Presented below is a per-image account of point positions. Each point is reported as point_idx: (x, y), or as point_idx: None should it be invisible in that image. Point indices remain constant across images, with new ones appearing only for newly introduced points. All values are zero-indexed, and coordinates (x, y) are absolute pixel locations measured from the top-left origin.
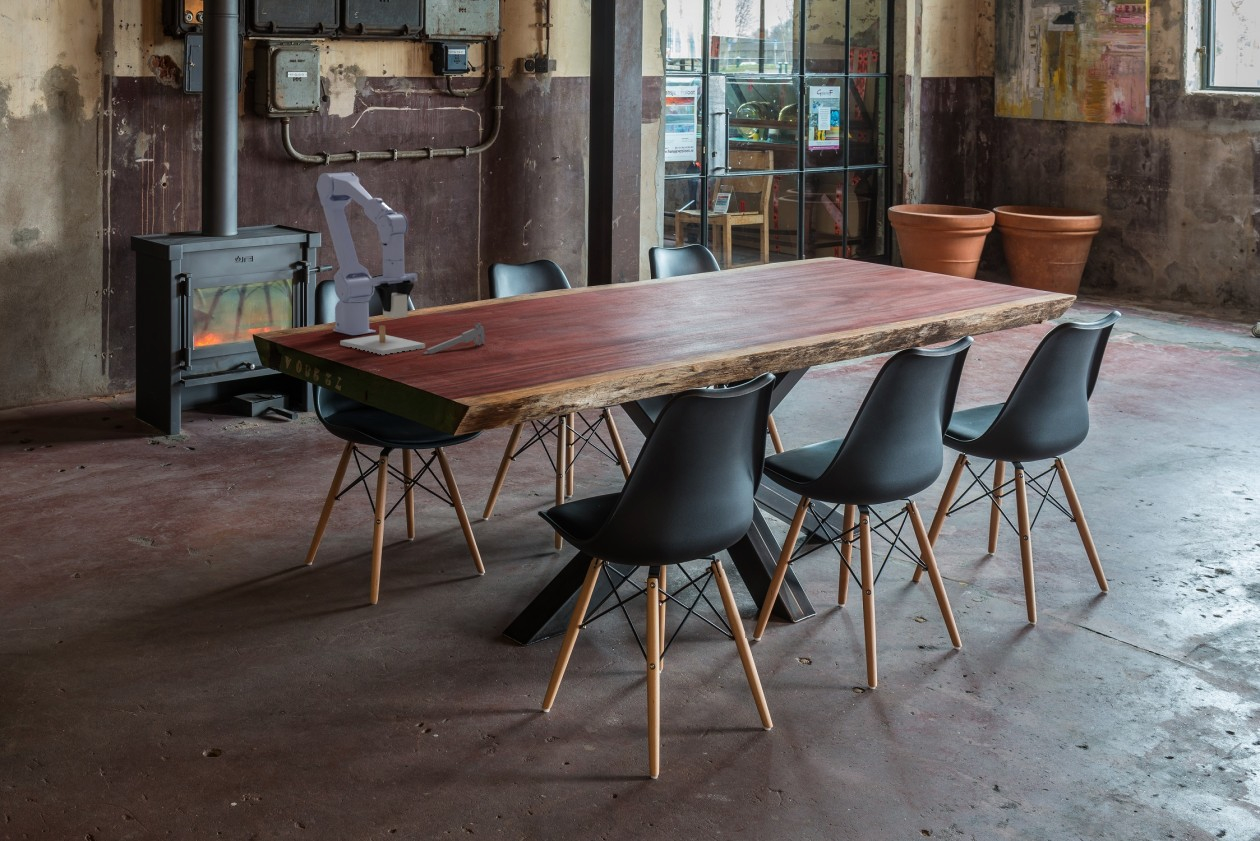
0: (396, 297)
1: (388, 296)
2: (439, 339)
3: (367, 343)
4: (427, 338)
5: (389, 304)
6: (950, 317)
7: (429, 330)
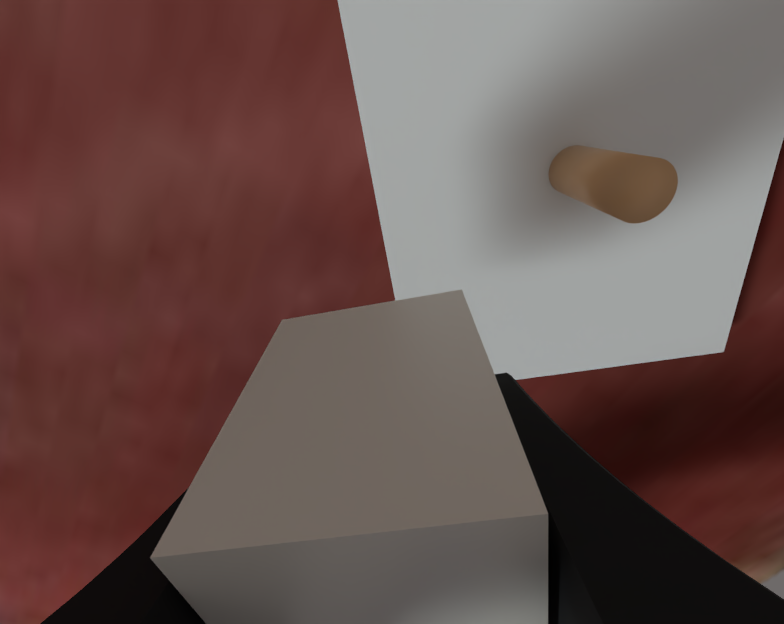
0: (453, 492)
1: (658, 543)
2: (106, 197)
3: (688, 180)
4: (177, 266)
5: (537, 425)
6: None
7: (113, 436)
